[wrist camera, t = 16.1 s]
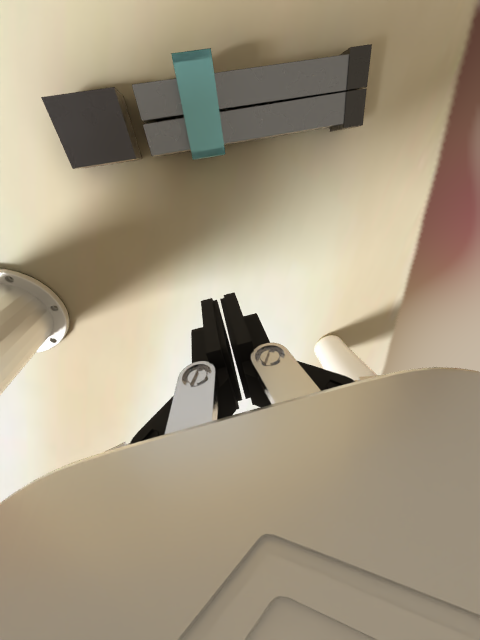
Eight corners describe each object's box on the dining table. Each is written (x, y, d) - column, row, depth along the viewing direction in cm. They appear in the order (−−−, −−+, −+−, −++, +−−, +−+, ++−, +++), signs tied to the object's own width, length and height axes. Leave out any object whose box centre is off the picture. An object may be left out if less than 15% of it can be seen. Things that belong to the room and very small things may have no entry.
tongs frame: (85, 168, 26) (72, 168, 23) (57, 99, 23) (37, 90, 20) (345, 126, 28) (362, 122, 25) (351, 58, 25) (371, 44, 22)
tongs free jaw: (157, 161, 26) (153, 160, 24) (147, 128, 25) (142, 124, 22) (346, 128, 28) (362, 125, 25) (349, 95, 26) (366, 88, 23)
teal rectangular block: (192, 159, 26) (192, 159, 22) (175, 73, 22) (171, 53, 18) (220, 155, 26) (225, 154, 22) (207, 69, 23) (210, 48, 19)
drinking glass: (330, 324, 43) (386, 389, 31) (350, 341, 46) (409, 407, 34) (302, 349, 45) (343, 419, 33) (323, 364, 48) (368, 433, 36)
